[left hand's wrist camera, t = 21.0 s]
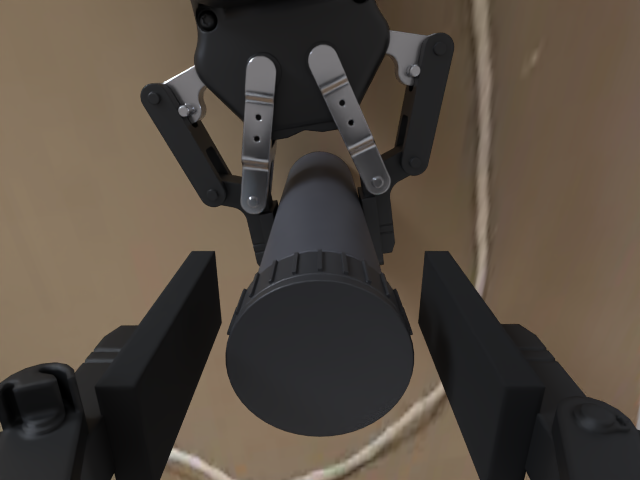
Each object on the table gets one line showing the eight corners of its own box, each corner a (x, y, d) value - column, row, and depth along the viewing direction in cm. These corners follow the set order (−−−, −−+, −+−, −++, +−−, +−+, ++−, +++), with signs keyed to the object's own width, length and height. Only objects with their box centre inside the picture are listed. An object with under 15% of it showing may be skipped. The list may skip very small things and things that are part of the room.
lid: (398, 237, 11) (412, 265, 10) (408, 384, 13) (421, 429, 11) (219, 259, 12) (202, 290, 10) (252, 400, 13) (243, 447, 12)
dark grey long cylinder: (274, 173, 28) (206, 322, 11) (331, 138, 27) (349, 243, 10) (309, 227, 29) (295, 431, 12) (364, 195, 28) (427, 368, 12)
